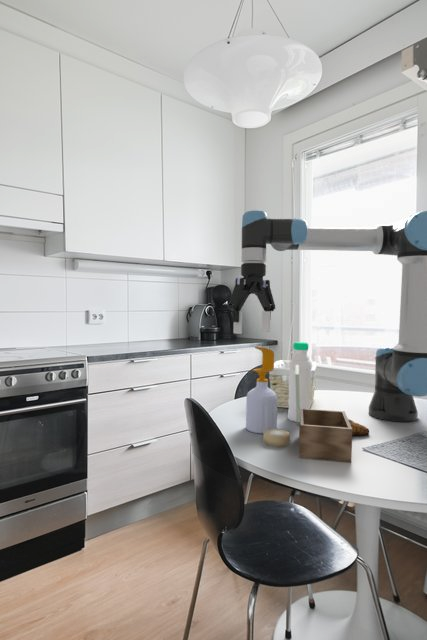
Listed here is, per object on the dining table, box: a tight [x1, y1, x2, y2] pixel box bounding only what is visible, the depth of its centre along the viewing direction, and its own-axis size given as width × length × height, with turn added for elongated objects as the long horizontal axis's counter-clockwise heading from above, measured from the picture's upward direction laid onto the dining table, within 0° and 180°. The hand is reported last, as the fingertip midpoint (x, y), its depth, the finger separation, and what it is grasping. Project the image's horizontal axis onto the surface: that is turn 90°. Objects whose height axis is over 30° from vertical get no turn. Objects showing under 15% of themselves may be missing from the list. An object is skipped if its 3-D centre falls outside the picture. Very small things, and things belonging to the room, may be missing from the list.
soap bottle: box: [245, 346, 278, 435], centre depth 119 cm, size 9×9×25 cm
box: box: [298, 408, 353, 463], centre depth 104 cm, size 12×16×8 cm
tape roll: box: [262, 428, 291, 448], centre depth 108 cm, size 7×7×2 cm
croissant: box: [348, 418, 370, 437], centre depth 116 cm, size 14×7×5 cm, turn 81°
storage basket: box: [268, 359, 318, 409], centre depth 153 cm, size 24×16×15 cm
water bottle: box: [287, 341, 312, 423], centre depth 129 cm, size 7×7×25 cm
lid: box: [295, 365, 301, 427], centre depth 105 cm, size 12×16×1 cm
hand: (252, 332), depth 124 cm, fingers open, 13 cm apart
